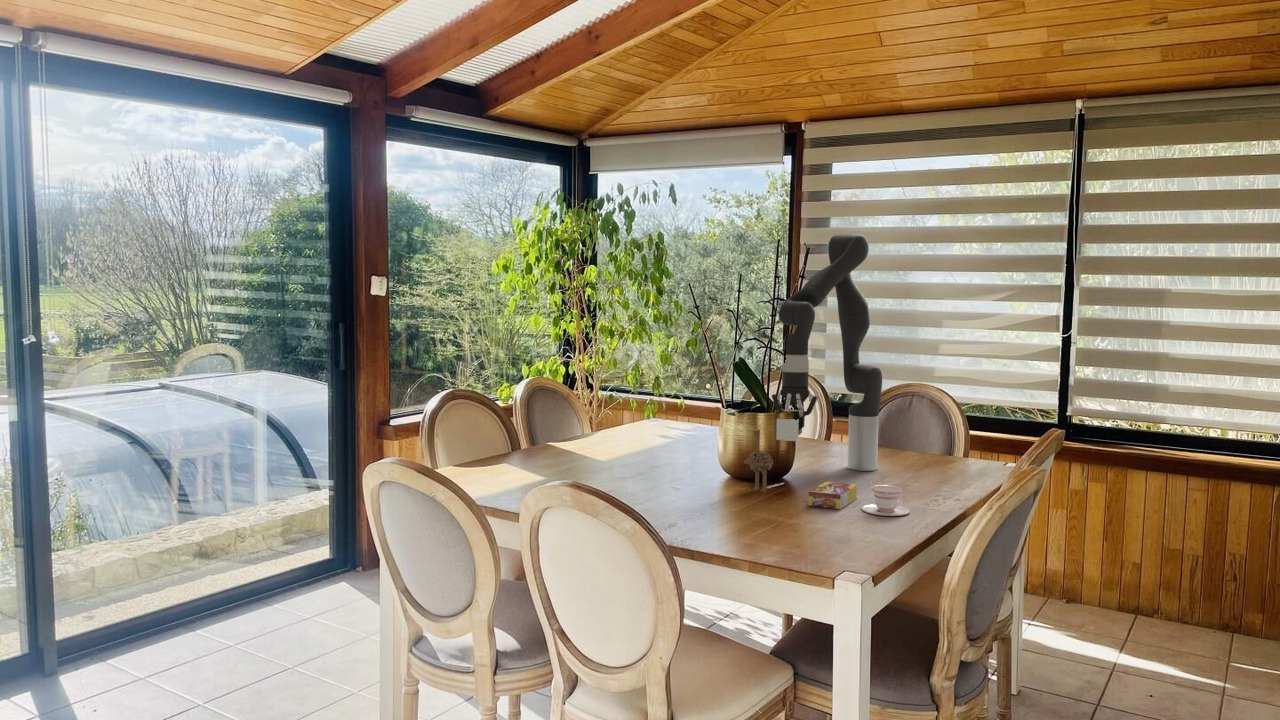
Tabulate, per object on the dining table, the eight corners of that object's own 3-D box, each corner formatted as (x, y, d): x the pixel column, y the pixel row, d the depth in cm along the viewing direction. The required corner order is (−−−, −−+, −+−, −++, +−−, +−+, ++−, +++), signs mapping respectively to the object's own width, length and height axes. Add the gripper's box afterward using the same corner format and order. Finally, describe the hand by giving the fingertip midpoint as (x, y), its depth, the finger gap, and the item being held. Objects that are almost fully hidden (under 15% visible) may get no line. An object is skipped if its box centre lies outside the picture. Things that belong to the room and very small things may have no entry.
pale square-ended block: (786, 431, 274) (787, 411, 273) (807, 432, 272) (807, 412, 271) (776, 439, 260) (776, 418, 260) (797, 441, 258) (797, 420, 258)
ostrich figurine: (762, 496, 255) (763, 431, 254) (742, 492, 260) (743, 429, 258) (794, 487, 268) (796, 425, 267) (775, 483, 272) (776, 423, 271)
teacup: (911, 518, 231) (911, 494, 231) (862, 515, 234) (862, 491, 234) (907, 507, 243) (908, 484, 243) (861, 505, 246) (861, 482, 245)
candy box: (825, 496, 256) (807, 505, 243) (826, 481, 256) (807, 489, 243) (857, 500, 252) (840, 509, 239) (857, 484, 252) (840, 493, 238)
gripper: (821, 370, 269) (820, 428, 270) (774, 368, 274) (773, 426, 275) (817, 371, 262) (816, 432, 263) (768, 370, 267) (767, 429, 268)
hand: (794, 428), depth 269 cm, fingers closed on pale square-ended block, 3 cm apart
